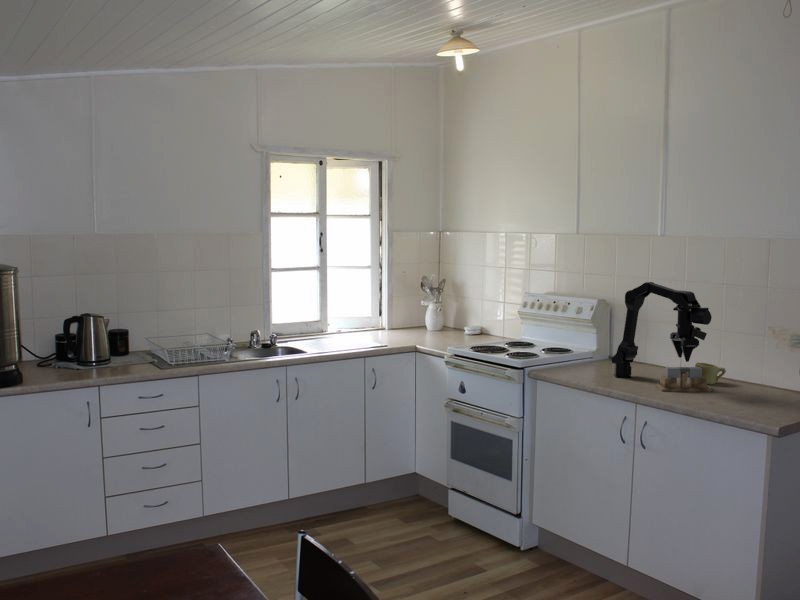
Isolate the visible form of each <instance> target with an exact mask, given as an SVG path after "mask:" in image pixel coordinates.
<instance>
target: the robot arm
mask: <svg viewBox="0 0 800 600" xmlns="http://www.w3.org/2000/svg"><path fill="white" fill-rule="evenodd" d="M651 294H653V295H657V296H659V297H663V298H666V299H668V300H670V301H671V302H672V303H674V304H676V306H675V307H673V309H672V311H677V322H676V324H675V327H676V328H677V329H676V330H677V331H673V332H671V333H670V335H669V339H670V340H671V343H672V345H673V347H674V350H675V351H676V352H675V353H676V354H677V357H678V358H679V359H680V358H682V356H684V360H685V362H686V363H687V362H689V361H690V359H691V356H692V353H693V350H694V349H696V348H697V347H698V346H700V340H702V341H705V339H706V337H707V335H708V333H706V332H705V331H702V329H701V328H700V327H698V326H695V325H693V324H697V325H706V326H709V324H710V323H711V322H712V313H711V312H710V311H709V307H701V304H700V303H699V301H698V300H697V298H696V295H695V293H694V292H693V291H687V290H677V289H673V288H669V287H667V286H664V285H661V284H658V283H656V282H655V283H654V282H653V281H646V282H643V283H642V284H641V285H639V286H637V287H635V288H633V289H630V290H627V291H626V292H625V294H624V304H625V307H626V316H625V321H624V327H623V335H622V340H621V342H620V343H619V345H618V346H617V349H616V353H615V354H614V355H613V356H612V357H611V359H610V360H611V364H614V369H613V371H614V373H613V376H614V377H615V378H632V366H631V363H634V360H635V359H636V357H637V355H638V349H639V346H638V345H636V343H635V338H636V331H637V324H638V317H639V313H640V310H641V308H642V307H643V306H644V303H645V299H646V298H647V297H648V296H650V295H651ZM699 339H700V340H699Z"/></svg>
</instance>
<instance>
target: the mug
mask: <svg viewBox="0 0 800 600" xmlns="http://www.w3.org/2000/svg"><path fill="white" fill-rule="evenodd" d="M694 367H701V368H702V376H703V377H705V378H706V379H707V386H708V385H709V386H710V385H715V384H717V383H718V381H719V380H720V378H722V377H723V376H724V375H725V374H726V372H727V370H726V368H724V367H719V366H718V365H716V364H712V363H709V362H708V363H707V362H696V363H695V366H694ZM720 372H721V373H720ZM719 373H720V374H719ZM718 374H719V375H718Z"/></svg>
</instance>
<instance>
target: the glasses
mask: <svg viewBox="0 0 800 600" xmlns="http://www.w3.org/2000/svg"><path fill="white" fill-rule="evenodd" d="M664 371H665V374H664V376H665V377H667V378H677V379H679V378H680V372H686V373H688V378H689V379H690V378H702V368H701V367H695V366H665V370H664Z"/></svg>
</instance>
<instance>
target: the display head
mask: <svg viewBox="0 0 800 600" xmlns="http://www.w3.org/2000/svg"><path fill="white" fill-rule="evenodd" d="M659 378H660V379H659V380H660V381H659V383H655V388H656V389H658V390H660V391H661V392H681V393H683V392H685V393H686V392H690V393H691V392H692V393H693V392H696V393H697V392H698V393H699V392H700V393H701V392H707V393H708V392H709V393H711V392H712V388H710V387H709V386H708V384H707V379H706V378H705V377H703V376H702V378H689V377H688V373H687V372H680V378H667V377H665V375H660V377H659ZM688 378H689V383H688ZM678 379H679V380H678ZM678 381H679V383H678Z"/></svg>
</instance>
